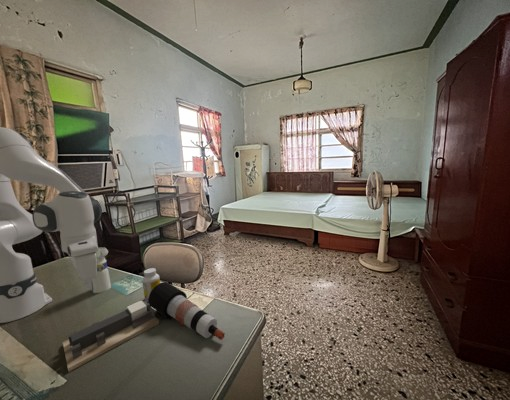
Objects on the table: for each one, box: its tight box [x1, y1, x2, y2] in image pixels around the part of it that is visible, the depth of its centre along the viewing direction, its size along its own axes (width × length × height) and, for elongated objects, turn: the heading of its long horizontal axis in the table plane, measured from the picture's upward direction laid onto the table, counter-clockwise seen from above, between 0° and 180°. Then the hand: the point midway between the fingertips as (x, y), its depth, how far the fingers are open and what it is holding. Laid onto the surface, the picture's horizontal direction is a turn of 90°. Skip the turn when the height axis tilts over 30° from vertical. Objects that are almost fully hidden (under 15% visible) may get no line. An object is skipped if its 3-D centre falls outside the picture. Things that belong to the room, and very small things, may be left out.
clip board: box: [62, 300, 160, 373], centre depth 73 cm, size 14×25×4 cm, turn 136°
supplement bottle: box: [141, 267, 161, 303], centre depth 93 cm, size 7×7×13 cm
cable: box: [147, 281, 226, 341], centre depth 77 cm, size 10×34×10 cm, turn 53°
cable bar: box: [70, 300, 147, 350], centre depth 73 cm, size 5×21×5 cm, turn 136°
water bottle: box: [91, 246, 112, 294], centre depth 102 cm, size 8×9×25 cm
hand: (85, 282), depth 71 cm, fingers open, 8 cm apart
